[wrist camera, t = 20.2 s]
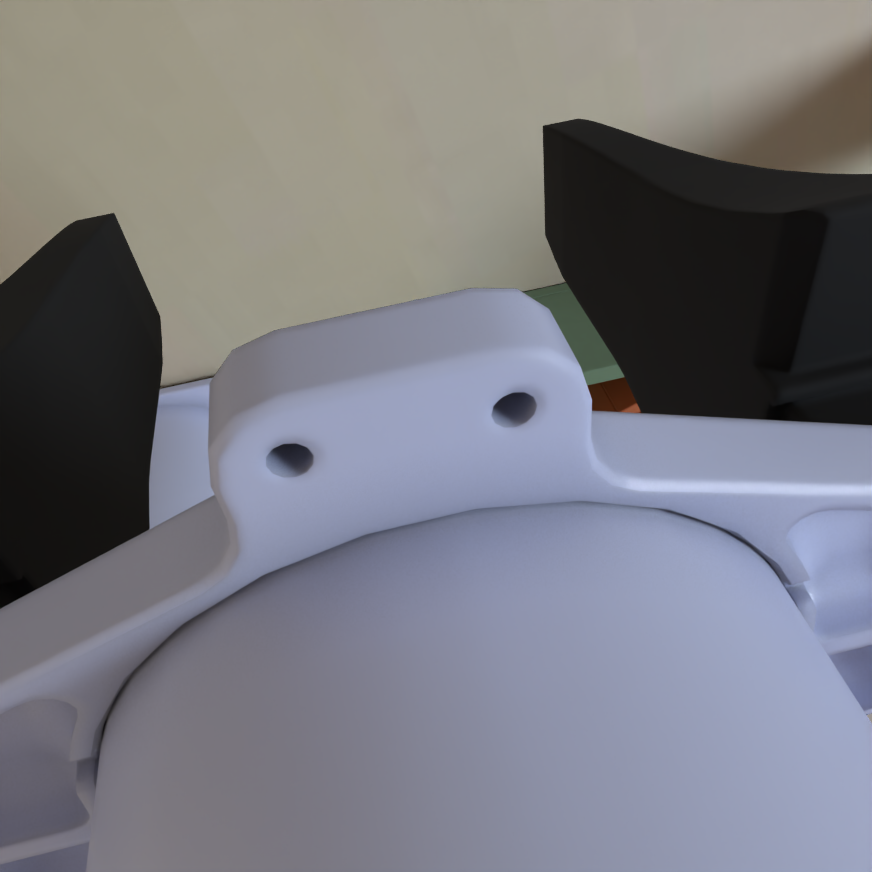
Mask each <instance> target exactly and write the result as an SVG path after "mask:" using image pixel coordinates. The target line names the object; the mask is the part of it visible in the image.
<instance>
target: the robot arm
mask: <svg viewBox="0 0 872 872" xmlns="http://www.w3.org/2000/svg"><path fill="white" fill-rule="evenodd" d="M543 151H544V195H545V235H546V238H547V240H548V243H549V245H550V248H551V250H552V253H553V255H554V258H555V260H556V262H557V265H558V267H559V269H560V272H561V274H562V276H563V278H564V280H565V281H566V283H567V285H568V286H569V288H570V289H571V291H572V293H573V294H574V296H575V297H576V299H577V301H578V302H579V304H580V305H581V307H582V309H583V310H584V312H585V313H586V315H587V316H588V318H589V320H590V321H591V323H592V324H593V326H594V327H595V329H596V330H597V332H598V334H599V335H600V337H601V338H602V340H603V341H604V343H605V345H606V346H607V348H608V349H609V351H610V352H611V354H612V356H613V357H614V359H615V361H616V362H617V364H618V366H619V368H620V369H621V371H622V373H623V375H624V377H625V379H626V381H627V383H628V385H629V387H630V389H631V392H632V394H633V396H634V398H635V400H636V402H637V405H638V407H639V409H640V411H641V413H627V412H608V411H592V398H591V395H590V392H589V389H588V386H587V384H586V381H585V378H584V375H583V372H582V369H581V366H580V365H579V363H578V361H577V359H576V357H575V355H574V354H573V352H572V350H571V348H570V346H569V345H568V343H567V341H566V339H565V337H564V335H563V334H562V332H561V330H560V328H559V326H558V324H557V323H556V321H555V319H554V317H553V315H552V313H551V312H550V310H549V309H548V308H547V307H545V306H544V305H542V304H540V303H539V302H537V301H536V300H534V299H532V298H531V297H529V296H528V295H526V294H524V293H523V292H521V291H520V290H518V289H506V288H469V289H464V290H460V291H455V292H450V293H446V294H441V295H437V296H432V297H427V298H423V299H418V300H413V301H409V302H404V303H399V304H395V305H390V306H385V307H381V308H376V309H371V310H367V311H362V312H357V313H353V314H348V315H343V316H339V317H334V318H330V319H325V320H320V321H316V322H311V323H306V324H302V325H297V326H292V327H288V328H283V329H278V330H274V331H272V332H270V333H268V334H266V335H263V336H261V337H259V338H257V339H255V340H253V341H251V342H248V343H246V344H244V345H242V346H240V347H238V348H236V349H233V350H232V351H231V353H230V354H229V355H228V357H227V358H226V360H225V361H224V363H223V364H222V366H221V367H220V368H219V370H218V371H217V373H216V374H215V376H214V377H213V378H208V379H203V380H199V381H194V382H190V383H185V384H180V385H176V386H171V387H167V388H162V389H160V383H161V374H162V364H163V360H162V336H161V321H160V315H159V313H158V311H157V308H156V306H155V304H154V302H153V299H152V297H151V295H150V293H149V290H148V288H147V286H146V284H145V281H144V279H143V277H142V275H141V272H140V270H139V268H138V266H137V263H136V261H135V259H134V257H133V254H132V252H131V250H130V248H129V245H128V243H127V241H126V239H125V236H124V234H123V232H122V230H121V227H120V225H119V223H118V221H117V218H116V216H115V214H114V213H111V214H106V215H102V216H97V217H92V218H87V219H82V220H77V221H75V222H73V223H72V224H70V225H68V226H67V227H66V228H64V229H63V230H62V231H60V232H59V233H58V234H57V235H56V236H55V237H53V238H52V239H51V240H50V241H49V242H48V243H47V244H45V245H44V246H43V247H42V248H41V249H40V250H39V251H38V252H37V253H36V254H34V255H33V256H32V257H31V258H30V259H29V260H28V261H27V262H26V263H24V264H23V265H22V266H21V267H20V268H19V269H18V270H17V271H16V272H14V273H13V274H12V275H11V276H10V277H9V278H8V279H6V280H5V281H4V282H3V283H2V284H0V872H872V723H871V722H870V720H869V719H868V717H867V715H868V714H871V713H872V174H823V173H810V172H797V171H784V170H776V169H767V168H760V167H755V166H749V165H743V164H737V163H731V162H726V161H722V160H717V159H713V158H709V157H705V156H701V155H697V154H694V153H690V152H686V151H683V150H679V149H676V148H673V147H669V146H666V145H663V144H660V143H657V142H654V141H651V140H648V139H645V138H642V137H639V136H636V135H633V134H630V133H628V132H625V131H622V130H619V129H616V128H613V127H610V126H607V125H604V124H600V123H597V122H593V121H589V120H584V119H574V120H569V121H565V122H560V123H555V124H550V125H545V126H543Z"/></svg>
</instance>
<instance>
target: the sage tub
mask: <svg viewBox="0 0 872 872" xmlns="http://www.w3.org/2000/svg"><path fill="white" fill-rule="evenodd" d="M523 293H524V294H526V295H528V296H529V297H531V298H532V299H534V300H536V301H537V302H539V303H540V304H542V305H544V306H545V307H547V308H548V309H549V310H550V312H551V313H552V315H553V317H554V319H555V321H556V323H557V324H558V326H559V328H560V330H561V332H562V334H563V335H564V337H565V339H566V341H567V343H568V345H569V346H570V348H571V350H572V352H573V354H574V355H575V357H576V359H577V361H578V363H579V365H580V366H581V369H582V372H583V375H584V378H585V381H586V384H587V385H592V384H596V383H601V382H605V381H610V380H614V379H619V378H623V377H624V375H623V373H622V371H621V369H620V368H619V366H618V364H617V362H616V361H615V359H614V357H613V356H612V354H611V352H610V351H609V349H608V348H607V346H606V345H605V343H604V341H603V340H602V338H601V337H600V335H599V334H598V332H597V330H596V329H595V327H594V326H593V324H592V323H591V321H590V320H589V318H588V316H587V315H586V313H585V312H584V310H583V309H582V307H581V305H580V304H579V302H578V301H577V299H576V297H575V296H574V294H573V293H572V291H571V289H570V288H569V286H568V285H567V283H564V284H559V285H554V286H550V287H545V288H541V289H536V290H531V291H527V292H523Z"/></svg>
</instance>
